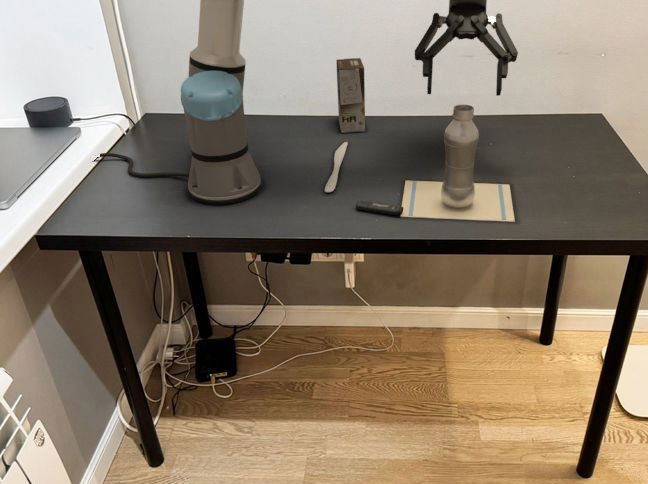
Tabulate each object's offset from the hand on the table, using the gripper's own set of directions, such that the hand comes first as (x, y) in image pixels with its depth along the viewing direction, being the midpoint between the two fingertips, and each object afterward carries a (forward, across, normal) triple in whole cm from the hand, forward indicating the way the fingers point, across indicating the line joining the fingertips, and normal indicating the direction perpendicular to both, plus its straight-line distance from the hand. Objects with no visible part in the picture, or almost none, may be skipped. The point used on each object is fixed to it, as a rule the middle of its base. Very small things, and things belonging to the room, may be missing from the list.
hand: (463, 91), depth 128 cm
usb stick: (+24, -15, +4) cm, 29 cm away
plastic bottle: (+21, 0, +7) cm, 22 cm away
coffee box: (-8, -27, +36) cm, 46 cm away
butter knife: (+10, -27, +18) cm, 34 cm away
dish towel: (+20, 0, +8) cm, 21 cm away
